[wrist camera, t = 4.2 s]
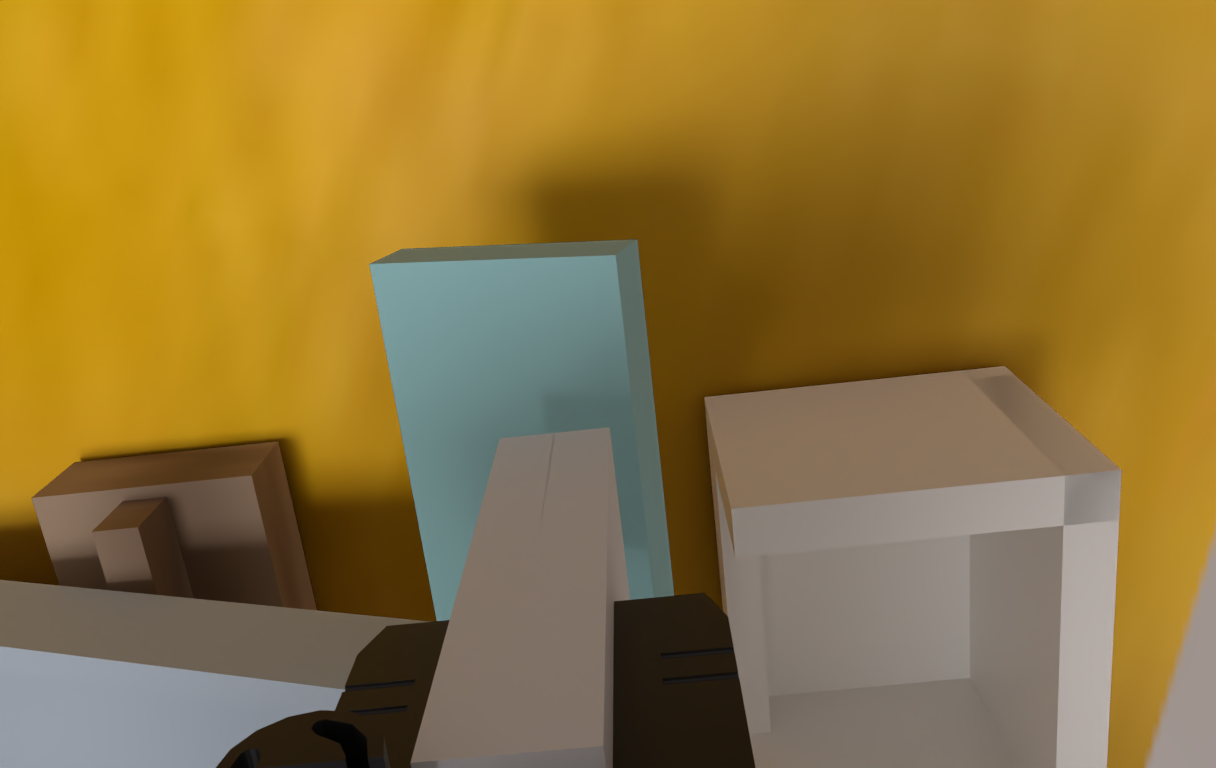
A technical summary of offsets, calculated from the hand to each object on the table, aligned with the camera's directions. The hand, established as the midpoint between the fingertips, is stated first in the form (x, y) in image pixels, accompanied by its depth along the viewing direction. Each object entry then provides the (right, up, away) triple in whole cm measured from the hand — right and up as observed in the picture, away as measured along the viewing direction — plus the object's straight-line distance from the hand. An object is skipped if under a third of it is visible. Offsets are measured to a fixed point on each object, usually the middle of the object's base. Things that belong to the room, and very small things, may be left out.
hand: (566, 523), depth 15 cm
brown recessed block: (-9, -4, +12) cm, 16 cm away
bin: (+7, -2, +12) cm, 14 cm away
